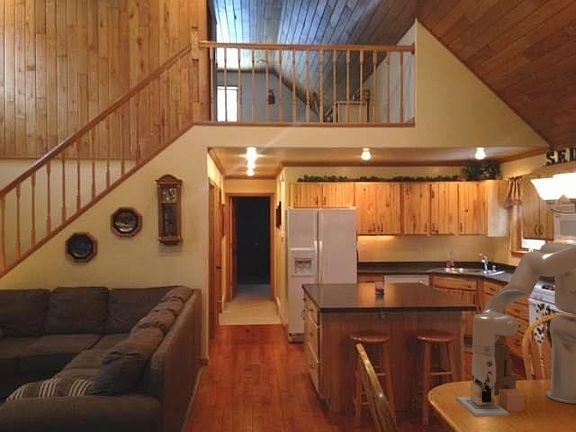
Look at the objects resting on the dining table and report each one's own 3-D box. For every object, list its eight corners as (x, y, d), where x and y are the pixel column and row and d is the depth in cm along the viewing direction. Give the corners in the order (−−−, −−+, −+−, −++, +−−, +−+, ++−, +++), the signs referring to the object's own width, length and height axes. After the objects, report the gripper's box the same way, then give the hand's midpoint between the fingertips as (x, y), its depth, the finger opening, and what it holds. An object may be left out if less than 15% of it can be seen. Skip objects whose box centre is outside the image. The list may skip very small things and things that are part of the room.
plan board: (487, 399, 196) (487, 396, 196) (508, 415, 181) (509, 412, 180) (456, 399, 195) (456, 396, 195) (475, 416, 179) (475, 413, 179)
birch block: (486, 398, 191) (486, 382, 191) (494, 404, 185) (494, 387, 185) (470, 398, 191) (470, 382, 191) (477, 404, 185) (478, 388, 185)
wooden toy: (501, 385, 213) (503, 324, 212) (516, 390, 207) (517, 327, 206) (475, 390, 205) (476, 327, 205) (488, 396, 200) (490, 331, 199)
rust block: (514, 405, 191) (514, 388, 191) (523, 411, 185) (523, 394, 185) (498, 405, 191) (499, 389, 191) (507, 411, 185) (507, 394, 185)
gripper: (505, 355, 179) (504, 407, 180) (482, 342, 197) (481, 390, 197) (484, 355, 179) (483, 408, 179) (463, 342, 196) (461, 390, 196)
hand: (482, 398), depth 188 cm, fingers closed on birch block, 5 cm apart
